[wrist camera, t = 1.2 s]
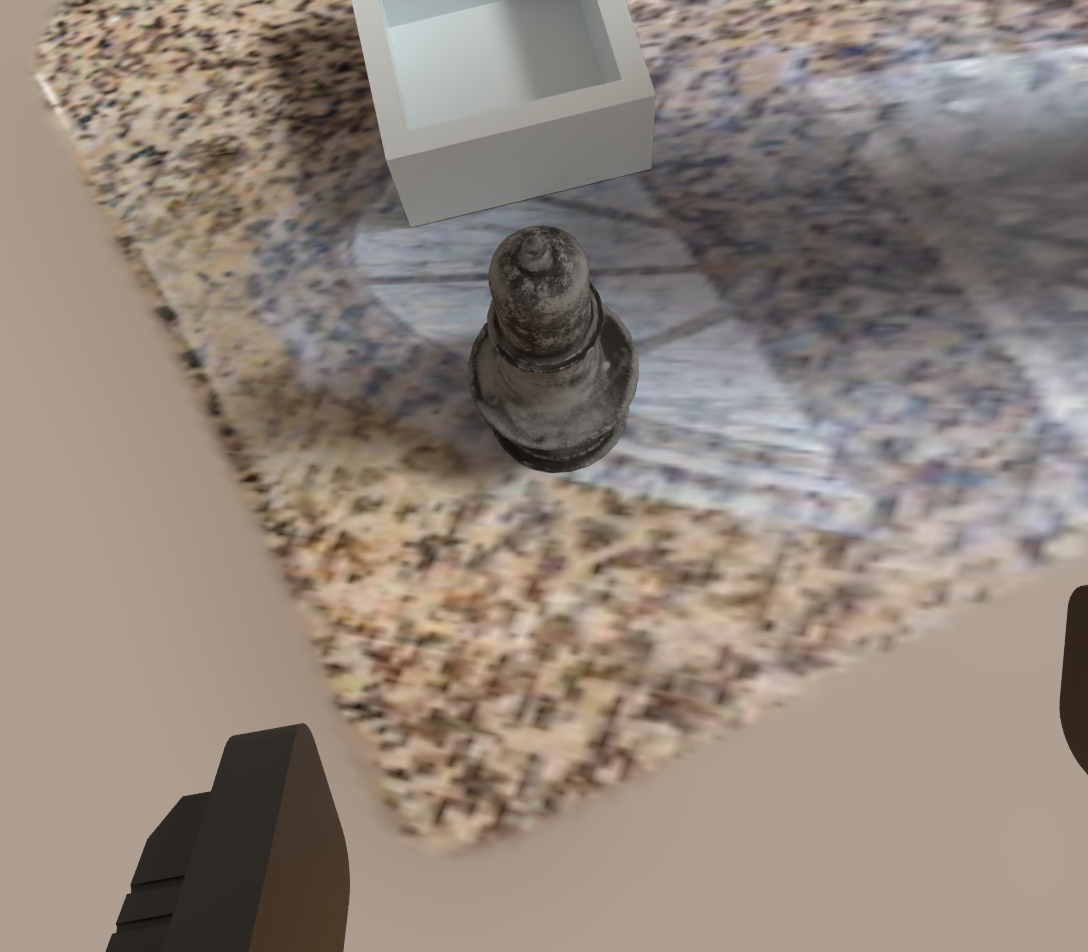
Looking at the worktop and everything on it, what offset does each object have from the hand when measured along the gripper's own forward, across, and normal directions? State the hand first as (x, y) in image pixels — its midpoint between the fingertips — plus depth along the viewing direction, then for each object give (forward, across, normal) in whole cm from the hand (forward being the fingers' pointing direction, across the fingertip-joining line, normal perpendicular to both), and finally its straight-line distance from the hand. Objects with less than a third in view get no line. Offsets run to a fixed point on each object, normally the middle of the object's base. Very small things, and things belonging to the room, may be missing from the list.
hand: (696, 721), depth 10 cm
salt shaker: (+27, 0, +6) cm, 27 cm away
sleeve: (+36, -1, -4) cm, 36 cm away
